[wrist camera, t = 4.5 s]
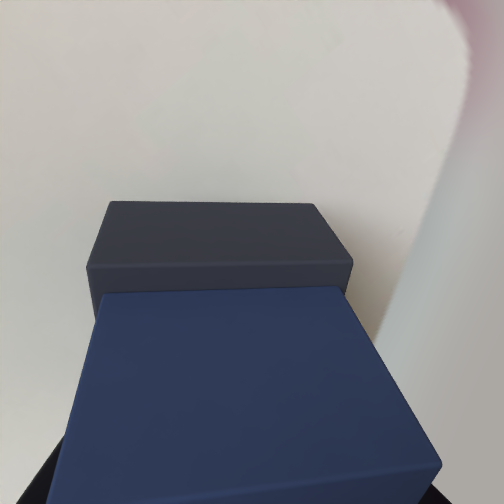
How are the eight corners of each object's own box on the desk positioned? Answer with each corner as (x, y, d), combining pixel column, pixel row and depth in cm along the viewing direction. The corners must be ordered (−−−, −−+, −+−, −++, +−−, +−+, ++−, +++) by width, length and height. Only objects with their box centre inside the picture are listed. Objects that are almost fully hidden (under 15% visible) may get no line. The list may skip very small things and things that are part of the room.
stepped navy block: (108, 199, 8) (-2, 492, 3) (313, 202, 8) (483, 435, 4) (139, 449, 12) (116, 714, 8) (268, 435, 13) (319, 667, 8)
